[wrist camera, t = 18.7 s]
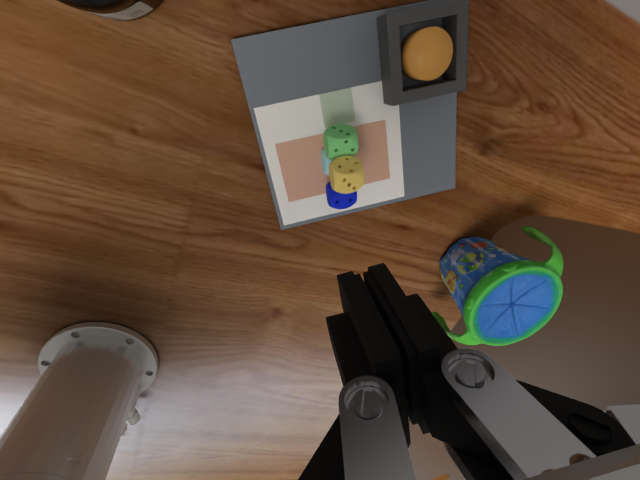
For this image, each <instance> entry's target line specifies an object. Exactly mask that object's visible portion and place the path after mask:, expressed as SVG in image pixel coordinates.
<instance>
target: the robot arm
mask: <svg viewBox="0 0 640 480" xmlns="http://www.w3.org/2000/svg"><path fill="white" fill-rule="evenodd" d="M363 276H364V281H363V279H362V278H361V276H360V274H356V275H354V273H353V271H351V272H347V273H343V274H339V275H337V280H338V285H339V290H340V296H341V301H342V306H343V312H344V313H341V314H337V315H333V316H329V317H326V322H327V326H328V331H329V335H330V339H331V343H332V347H333V351H334V355H335V358H336V362H337V365H338V369H339V372H340V376H341V379H342V383H343V386H344V387H343V388H342V390H341V392H340V395H339V415H338V417H337V418H336V420H335V422H334V423H333V425H332V426H331V428H330V430H329V431H328V433H327V434H326V436H325V438H324V439H323V441H322V442H321V444H320V446H319V447H318V449H317V450H316V452H315V454H314V455H313V457H312V458H311V460H310V462H309V463H308V465H307V466H306V468H305V469H304V471H303V473H302V474H301V476H300V477H299V479H298V480H416V478H415V474H414V471H413V466H412V463H411V458H410V454H409V450H408V448H409V445H410V431H409V419H410V421H411V423H412V424H417V423H418V424H419V426H420V428H421V430H422V433H423V434H426V433H429V432H430V433H431V435H432V437H434V438H436V439H438V440H440V441H443V444H444V447H445V449H446V451H447V452H448V454H449V455H450V457H451V458H452V460H453V461H454V463H455V464H456V466H457V467H458V469H459V470H460V472H461V473H462V474H463V476H464V478H465V479H466V480H640V404H639V405H621V406H620V405H619V406H608V407H607V410H600V409H598V408H596V407H594V406H591V405H589V404H586V403H583V402H580V401H577V400H574V399H571V398H568V397H565V396H562V395H559V394H556V393H553V392H550V391H548V390H544V389H541V388H539V387H536V386H532V385H530V384H527V383H524V382H521V381H517V380H515V379H514V378H513V377H512V376H511V375H510V374H509V373H508V372H506V371H505V370H504V369H503V368H502V367H501V366H500V365H499V364H498V363H497V362H496V361H495V360H494V359H492V358H491V357H490V356H488V355H487V354H485V353H483V352H481V351H478V350H474V349H469V348H465V349H463V348H461V349H457V347H456V346H455V344H454V343H453V342H452V340H451V339H450V338H449V336H448V335H447V333H446V332H445V331H444V329H443V328H442V327H441V325H440V324H439V322H438V321H437V320H436V318H435V317H434V316H433V314H432V313H431V311H430V310H429V309H428V307H427V306H426V305H425V303H424V302H423V300H422V299H421V298H420V297H419V295H417V294H413V295H409V296H406V295H405V294H404V292H403V291H402V289H401V288H400V286H399V285H398V283H397V282H396V280H395V279H394V277H393V276H392V274H391V273H390V271H389V270H388V268H387V267H386V265H385V264H384V263H382V264H378V265H374V266H370V267H368V271H367V272H364V273H363ZM38 367H39V372H40V374H41V378H40V379H39V381H38V382H37V384H36V385H35V387H34V388H33V390H32V391H31V392H30V394H29V395H28V397H27V398H26V400H25V401H24V403H23V404H22V406H21V407H20V409H19V410H18V412H17V413H16V415H15V416H14V418H13V419H12V421H11V422H10V424H9V425H8V427H7V428H6V429H5V431H4V432H3V434H2V435H1V437H0V480H105V479H106V476H107V473H108V471H109V468H110V465H111V462H112V459H113V456H114V454H115V451H116V448H117V445H118V442H119V439H120V437H121V436H122V435H123V434H124V433H125V432H126V430H127V424H126V423H125V422H126V420H128V422H129V423H130V424H131V425H134V424H136V423H137V422H139V420H140V419H141V415H140V414H139V412H138V411H137V410H136V409H135V408H134V407H135V404H136V401H137V398H138V395H140V394H141V393H143V392H144V391H145V390H146V389H148V388H149V386H150V385H151V384H152V383H153V381H154V379H155V376H156V374H157V370H158V357H157V353H156V351H155V349H154V348H153V346H152V345H151V344H150V343H149V342H148V340H147V339H145V338H144V337H143V336H141V335H140V334H139V333H137V332H135V331H133V330H131V329H129V328H126V327H123V326H120V325H117V324H112V323H105V322H86V323H80V324H75V325H71V326H69V327H66V328H64V329H62V330H60V331H58V332H57V333H55V334H54V335H53V336H52V337H51V338H50V339H49V340H48V341H47V342H46V344H45V345H44V346H43V348H42V349H41V351H40V354H39V356H38ZM408 417H409V419H408Z"/></svg>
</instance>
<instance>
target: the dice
mask: <svg viewBox="0 0 640 480" xmlns="http://www.w3.org/2000/svg"><path fill="white" fill-rule="evenodd" d="M323 141H324V149H323V150H322V151H321V161H322V168H323V172H324V174H325V175H327V176H329V179H330V182H328V183H327V185H326V197H327V202H328V205H329V206H330V207H332V208H335V209H346V208H349V207H351V206H352V205H354V204H355V203H356V201H357V190H358V189H360V188H361V187H362V186H363V184H364V169H363V165H362V162H361V161H360V160H359V159H358V158H356V157H354V156H355V155H356V154H357V152H358V136H357V132H356V129H355V128H354V127H353V126H351V125H348V124H334V125H331V126H330V127H328V128H327V129H326V130H325V131H324V134H323Z"/></svg>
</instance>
